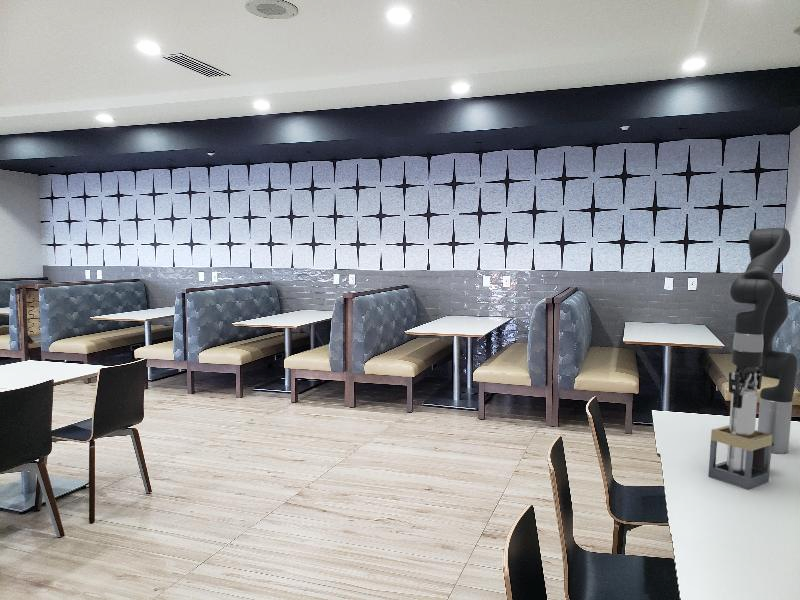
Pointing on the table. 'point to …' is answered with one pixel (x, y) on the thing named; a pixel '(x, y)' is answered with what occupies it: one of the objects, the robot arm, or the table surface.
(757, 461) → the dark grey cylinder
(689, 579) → the table surface
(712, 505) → the table surface
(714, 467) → the collar stand
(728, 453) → the silver metal cylinder
